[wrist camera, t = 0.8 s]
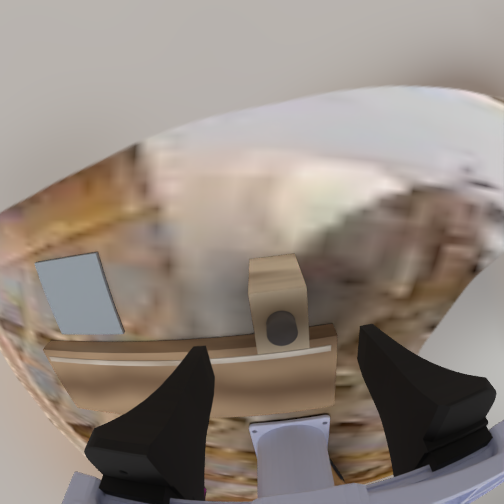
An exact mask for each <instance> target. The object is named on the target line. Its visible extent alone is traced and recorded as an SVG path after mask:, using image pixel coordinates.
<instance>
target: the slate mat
mask: <svg viewBox="0 0 504 504" xmlns="http://www.w3.org/2000/svg"><path fill="white" fill-rule="evenodd" d="M35 266H36V269H37V272H38V275H39V278H40V281H41V284H42V287H43V289H44V292H45V294H46V297H47V300H48V302H49V305H50V307H51V310H52V312H53V314H54V317H55V319H56V321H57V324H58V326H59V328H60V330H61V332H62V334H124V332H125V331H124V329H123V326H122V324H121V321H120V319H119V316H118V313H117V310H116V308H115V305H114V302H113V299H112V296H111V293H110V290H109V287H108V284H107V281H106V278H105V275H104V272H103V269H102V265H101V262H100V259H99V255H98V252H94V253H88V254H82V255H75V256H70V257H64V258H58V259H52V260H46V261H40V262H36V263H35Z"/></svg>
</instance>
